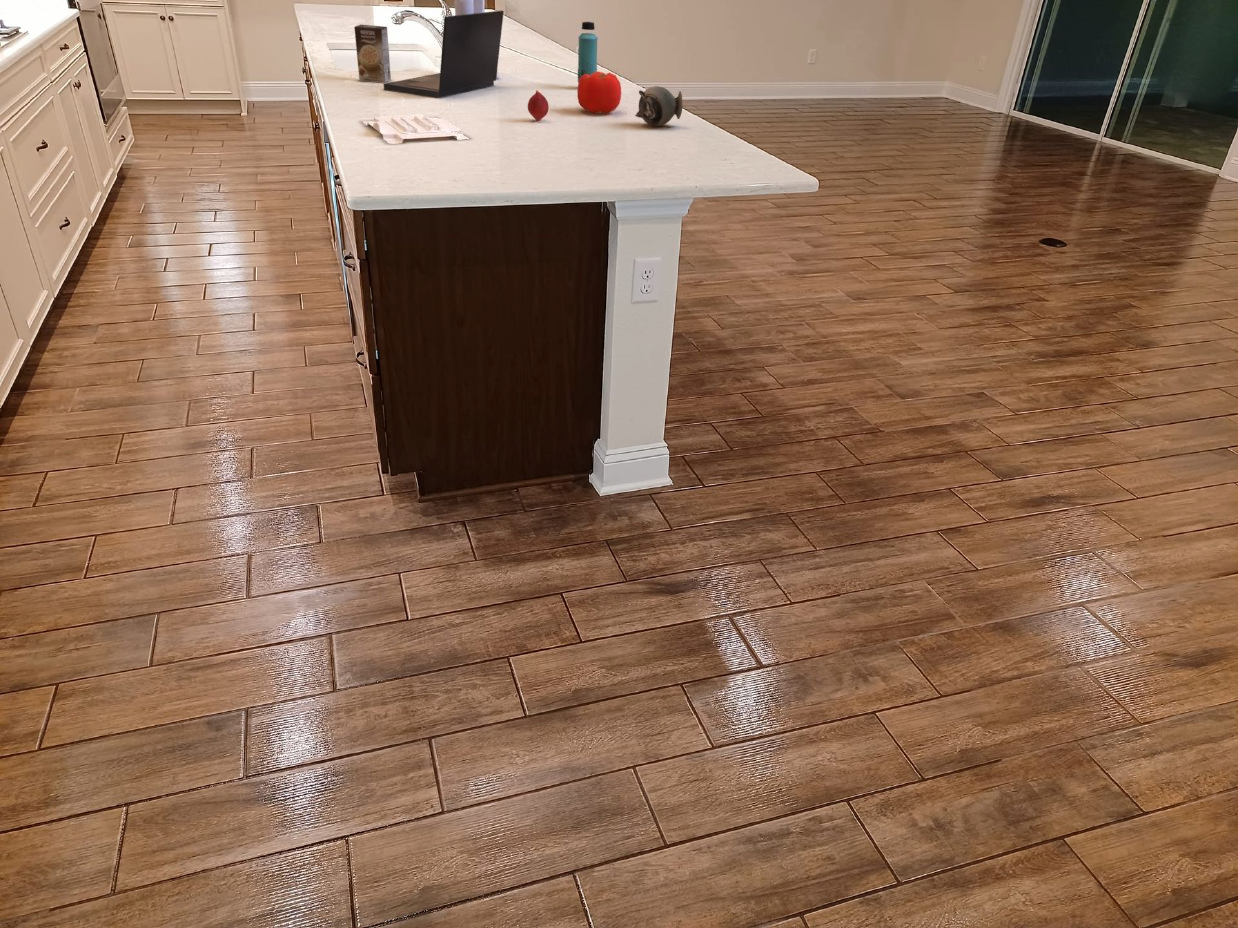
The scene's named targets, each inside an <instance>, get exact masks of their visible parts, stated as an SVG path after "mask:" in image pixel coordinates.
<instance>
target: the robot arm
mask: <svg viewBox="0 0 1238 928" xmlns="http://www.w3.org/2000/svg"><path fill="white" fill-rule="evenodd" d="M485 3H486V1H485V0H454V16H455V15H464V14H473V13H482V12H486V11H485ZM497 79H499V76H498V75H497V76H496V80H497Z"/></svg>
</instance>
